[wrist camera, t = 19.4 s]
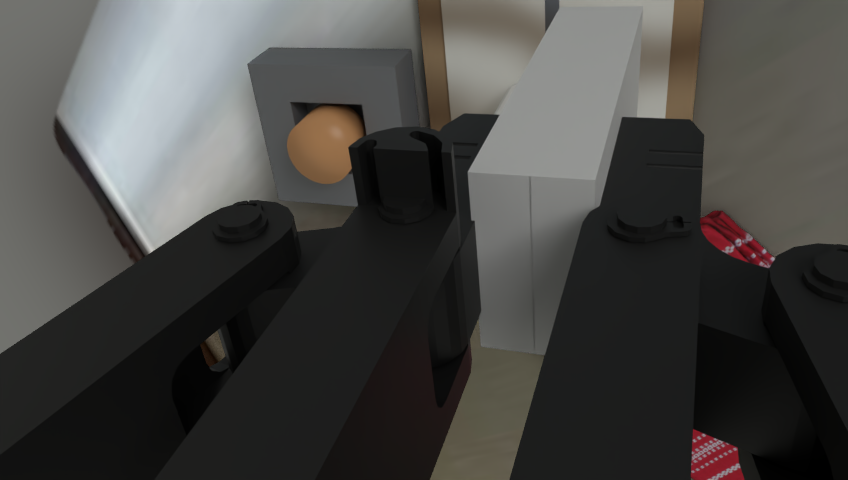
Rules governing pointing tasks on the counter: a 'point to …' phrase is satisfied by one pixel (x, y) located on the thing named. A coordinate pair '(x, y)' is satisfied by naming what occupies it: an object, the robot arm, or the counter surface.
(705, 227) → the dish towel
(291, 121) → the button housing
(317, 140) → the button
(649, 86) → the brown picture frame
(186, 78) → the counter surface
